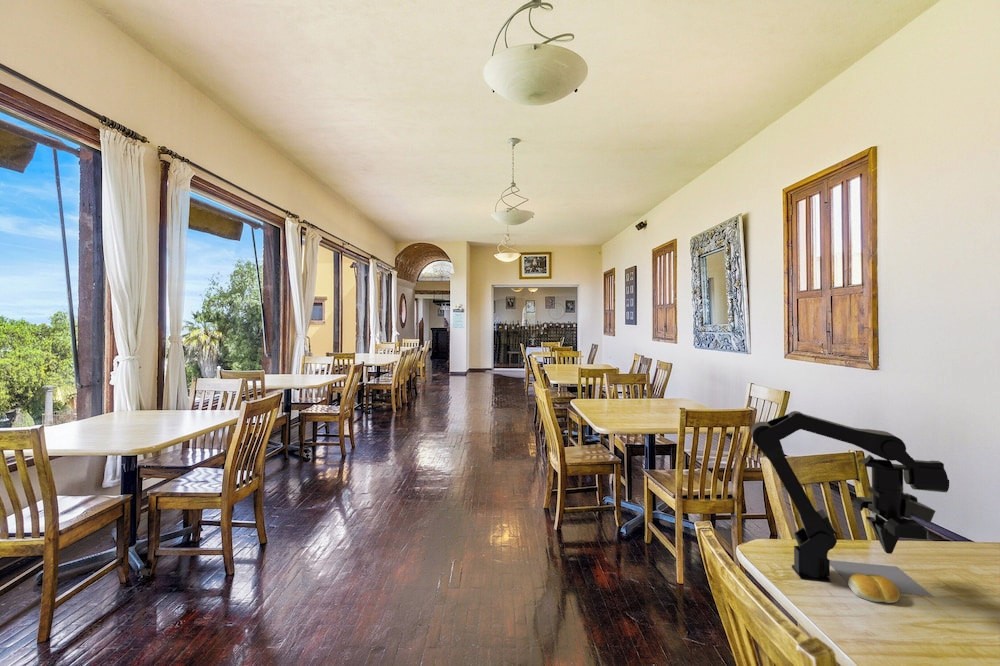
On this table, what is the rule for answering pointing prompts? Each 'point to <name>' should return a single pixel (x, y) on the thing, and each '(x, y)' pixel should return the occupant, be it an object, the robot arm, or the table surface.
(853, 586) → the bread roll
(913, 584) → the serving mat
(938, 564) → the table surface
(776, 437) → the robot arm
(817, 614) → the table surface
